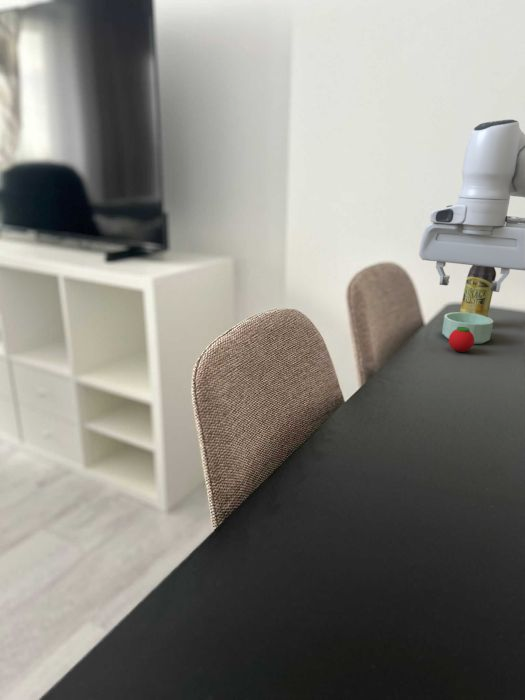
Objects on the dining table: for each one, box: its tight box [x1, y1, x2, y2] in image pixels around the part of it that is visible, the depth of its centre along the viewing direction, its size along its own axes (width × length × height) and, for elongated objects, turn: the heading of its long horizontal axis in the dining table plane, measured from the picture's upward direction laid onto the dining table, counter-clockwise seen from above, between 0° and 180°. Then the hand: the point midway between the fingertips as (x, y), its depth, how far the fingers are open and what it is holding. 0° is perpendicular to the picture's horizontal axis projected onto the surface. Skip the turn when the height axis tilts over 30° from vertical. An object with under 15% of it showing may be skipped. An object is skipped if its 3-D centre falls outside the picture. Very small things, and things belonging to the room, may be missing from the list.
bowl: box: [441, 311, 494, 345], centre depth 113 cm, size 10×10×4 cm
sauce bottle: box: [459, 265, 497, 317], centre depth 120 cm, size 7×6×20 cm
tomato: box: [448, 327, 475, 353], centre depth 104 cm, size 5×5×5 cm
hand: (468, 287), depth 100 cm, fingers open, 8 cm apart
